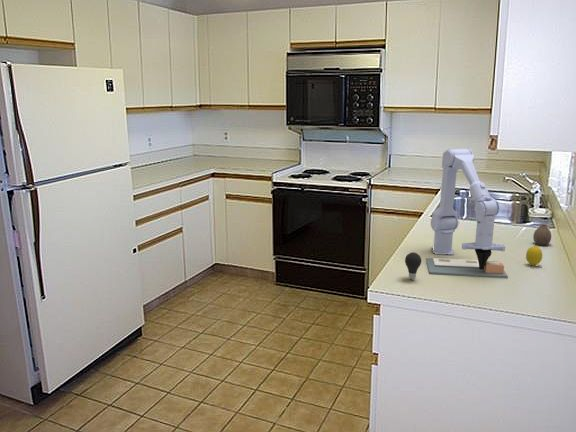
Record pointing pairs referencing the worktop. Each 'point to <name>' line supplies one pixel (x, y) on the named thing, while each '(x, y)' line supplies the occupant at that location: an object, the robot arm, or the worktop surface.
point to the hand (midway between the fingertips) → (481, 268)
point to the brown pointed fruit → (542, 235)
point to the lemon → (534, 255)
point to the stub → (494, 267)
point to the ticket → (456, 263)
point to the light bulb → (412, 264)
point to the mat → (461, 271)
